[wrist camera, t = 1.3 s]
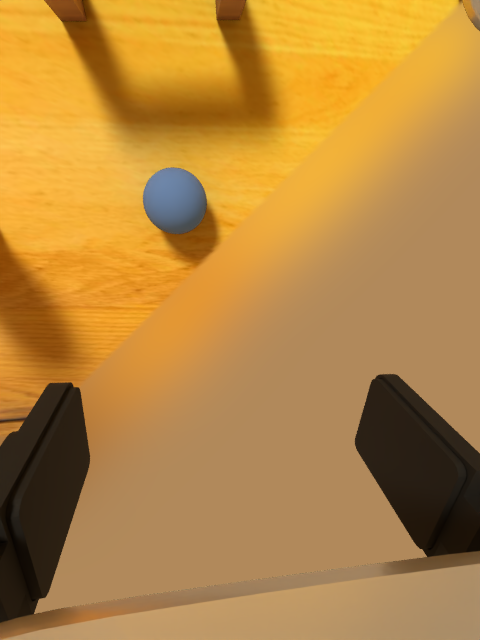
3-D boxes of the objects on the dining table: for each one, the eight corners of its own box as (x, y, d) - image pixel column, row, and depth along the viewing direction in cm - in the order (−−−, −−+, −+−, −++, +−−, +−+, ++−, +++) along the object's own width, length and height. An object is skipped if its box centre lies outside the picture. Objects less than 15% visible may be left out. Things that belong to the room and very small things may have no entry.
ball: (201, 166, 33) (205, 165, 28) (207, 226, 36) (211, 236, 30) (141, 169, 33) (133, 169, 27) (151, 230, 35) (146, 241, 30)
